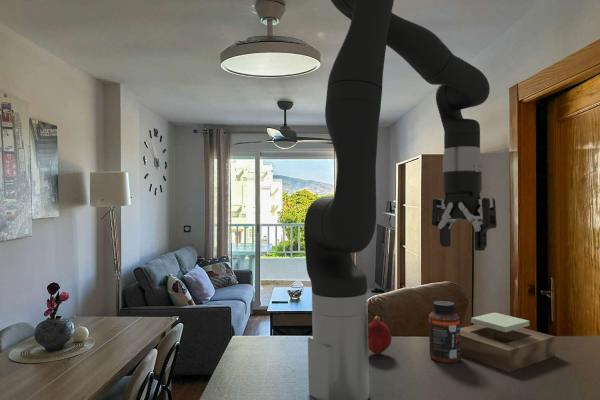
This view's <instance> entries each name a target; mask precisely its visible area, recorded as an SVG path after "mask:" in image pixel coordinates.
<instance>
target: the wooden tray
mask: <svg viewBox="0 0 600 400" xmlns="http://www.w3.org/2000/svg"><path fill="white" fill-rule="evenodd" d="M460 353H461V355H460V356H463V357H467V358H470V359H472V360H475V361H477V362H481V363H482V364H483V363H484V364H486V365H488V366H492V367H494V368H497V369H499V370H502V371H505V372H507V373H511V372H514V371H517V370H520V369H523V368H525V367H528V366H531V365H535V364H536V363H537V364H538V363H539V362H543V361H545V360H548V359H552V358H554V357H556V336H554V335H551V334H547V333H543V332H540V331H535V330H532V329H528V328H526V327H523V328H519V329H516V330H512V331H508V332H502V331H499V330H495V329H492V328H488V327H485V326H481V325H478V324H473V325H468V326H465V327H464V326H463V327H460Z"/></svg>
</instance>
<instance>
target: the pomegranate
mask: <svg viewBox="0 0 600 400" xmlns="http://www.w3.org/2000/svg"><path fill="white" fill-rule="evenodd" d="M391 342H392V334H391V331H390V328H389V327H388V326H387V324H386V323H384V322H383V321H382V320H381V318H380V316H378V315H376V316H374V319H373V320H372V321H371V322H370V323H369V322H368V351H370V352H371V353H373V354H375V355H376V356H380V355H381V354H382V353H383V352H385V351H386V350H387V349H388V348H389V347H390V345H391V344H392V343H391Z"/></svg>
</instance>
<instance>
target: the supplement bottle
mask: <svg viewBox="0 0 600 400" xmlns="http://www.w3.org/2000/svg"><path fill="white" fill-rule="evenodd" d="M460 328H461V318H460V316H459V315H458V314H457V312H456V311H455V303H454V302H452V301H447V300H436V301H434V302H433V311H432V312H430V313H429V316H428V337H429V340H428V341H429V347H428V348H429V357H430V359H432V360H434V361H436V362H438V363H443V364H455V363H457V362H460V360H461V356H462V355H461V353H460Z"/></svg>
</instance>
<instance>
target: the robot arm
mask: <svg viewBox="0 0 600 400" xmlns="http://www.w3.org/2000/svg"><path fill="white" fill-rule="evenodd" d="M330 1H331V3H332V4H333V6H334V7H335V9H336V10H338V11H339V12H340V13H341V14H342V15H344V16H345V17H346V18H347V19H349V20H350V24H349V28H348V30H347V33H346V35H345V38H344V40H343V42H342V43H341V44H342V45H341V46H340V48H339V51H338V53H337V55H336V57H335V60H334V61H333V64H332V67H331V70H330V73H329V75H328V79H327V87H326V99H325V110H324V114H325V115H324V116H325V119H324V120H325V123H326V128H327V131H328V134H329V136H330V140H331V143H332V145H333V148H334V151H335V152H334V153H335V156H336V161H337V162H336V165H337V166H336V168H337V170H336V171H337V172H336V181H335V183H336V184H335V190H334V195H325V196H321V197H318V198H317V199H315V200H313V202H311V203H310V204H309V206H308V208H307V210H306V213H305V217H304V222H303V223H304V225H303V233H304V234H303V235H304V250H305V263H306V264H305V265H306V272H307V275H308V278H309V280H310V283H311V319H312V320H311V322H312V323H311V324H312V327H311V328H312V336H309V337H308V338H307V358H308V359H307V360H308V362H307V363H308V364H307V365H308V366H307V367H308V370H307V371H308V395H310V397H312V398H314V399H315V400H368V399H369V398H370V368H369V367H370V365H369V364H370V363H369V362H370V361H369V359H370V357H369V349H368V324H369V321H368V320H369V319H368V317H369V316H368V314H369V313H368V311H369V310H368V309H369V308H368V307H369V305H368V280H367V276H366V274H365V273H364V272H363V271H362V270H361V269H360V268H359V267H358V266H357V265H356V263H355V262H354V260H353V258H352V257H353V256H352V254H355V253H356V254H357V253H360V252H362V251H364V250H365V249H366V248H367V247H368V246H369V244H370V243H371V242H372V240H373V238H374V237H373V236H374V235H375V230H376V224H377V173H376V171H377V154H378V153H377V152H378V139H379V138H378V137H379V136H378V135H379V125H380V123H379V122H380V115H381V106H382V96H383V83H384V82H383V78H384V67H385V60H386V59H385V57H386V51H387V50H386V49H387V47H388V48H390V49H391V50H393V51H394V52H395V53H397V54H398V55H399V56H400V57H401V58H402V59H403V60H404V61H406V63H407V64H409V66H410V67H412V68H413V70H415V72H416V73H418V74H419V76H420V77H421V79H423V80H424V81H425V82H426V83H428V84H430V85H433V86H437V89H436V93H435V102H436V106H437V110H438V113H439V117H440V120H441V124H442V127H443V132H444V134H443V137H444V138H443V148H444V149H443V157H442V192H443V193H444V198H433V200H432V207H431V208H432V209H431V210H432V211H431V212H432V213H431V225H432V226H433V227H437V228H438V229H439V243H440V246H441V247H443V248H450V247H451V239H452V237H451V236H452V235H451V231H452V230H451V227H452V225H453V224H454V223H455V222H456V221H457V220H467V221H468V222H469V223H470V224H471V225H472V226H473V228H474V230H475V231H474V250H475V251H485V249H486V248H487V246H488V245H487V244H488V241H487V240H488V238H487V237H488V235H487V234H488V231H489V230H492V229H496V228H497V212H496V211H497V207H496V206H497V205H496V199H495V198H493V197H483V198H481V193H482V191H483V189H482V188H483V187H482V186H483V185H482V184H483V183H482V178H483V177H482V169H483V167H482V166H483V165H482V154H481V153H482V152H481V125H480V123H479V121H478V120H476V119H472V118H464V117H463V114H462V110H465V109H468V108H474V107H477V106H480V105H483V103H485V102H487V100H488V99H489V94H490V91H491V90H490V89H491V88H490V83H489V81H488V78H487V77H486V75H485V74H484V73H483V72H482V71H481V70H480V69H478V68H477V67H476V66H474V65H473V64H470V63H469V62H467V61H465V60H463V59H462V58H461V57H459V56H456V55H454V54H453V52H452V51H451V50H450V49H449V48H448V47H447V45H446V44H445V43H444V42H443V41H442V40H441V39H440V38H439V36H438V35H436V34H435V33H434V32H433V31H430V30H429V29H428V28H426V27H424V26H422V25H419V24H417V23H415V22H413V21H410V20H408V19H405V18H404V17H401V16H399V15H397V14H395V13H394V12H392V11H393V6H394V2H395V0H330ZM480 208H481V210H482V211H480ZM481 212H482V213H481Z"/></svg>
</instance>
